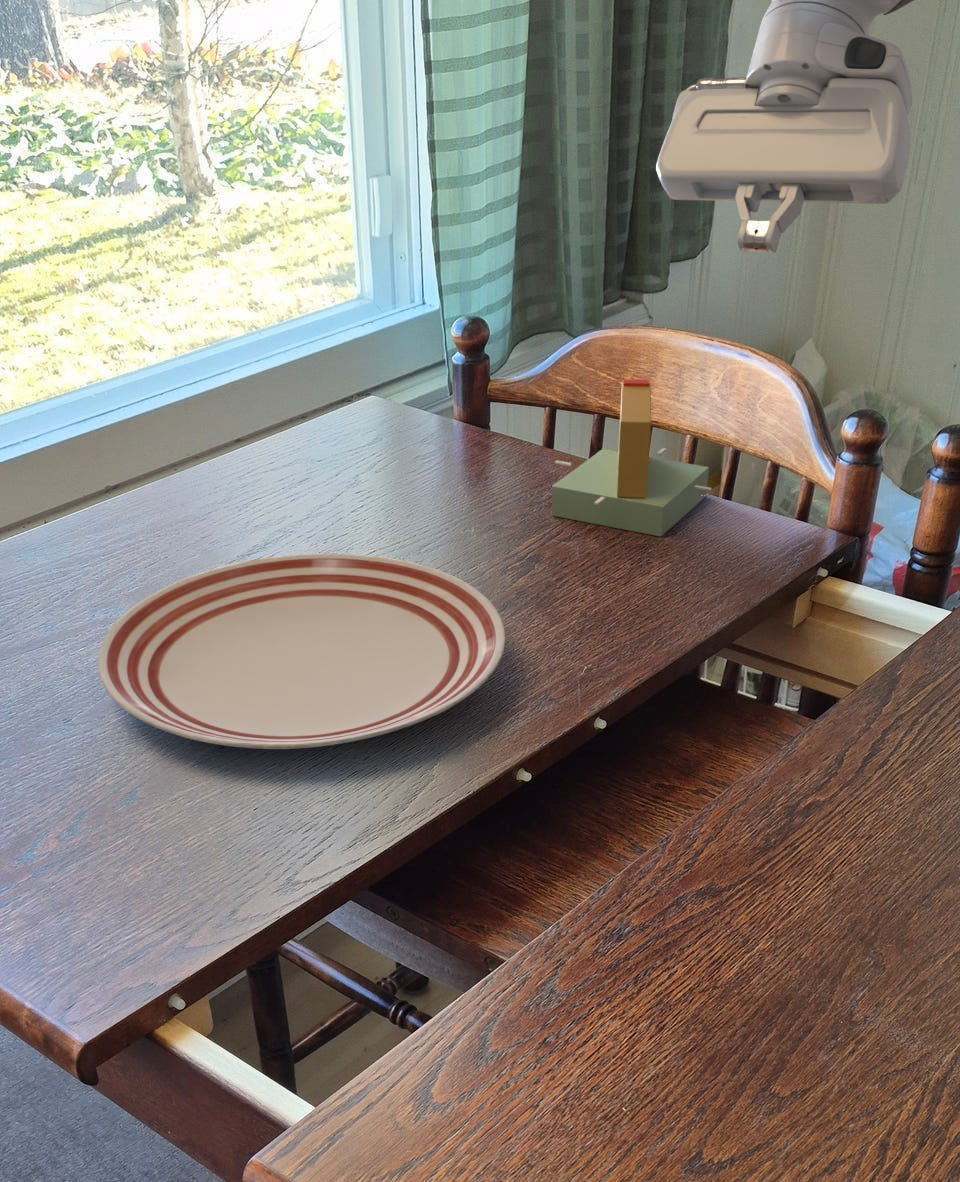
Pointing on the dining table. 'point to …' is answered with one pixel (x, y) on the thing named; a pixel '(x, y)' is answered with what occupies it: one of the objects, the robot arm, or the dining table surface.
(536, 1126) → the dining table surface
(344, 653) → the dinner plate
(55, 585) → the dining table surface
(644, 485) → the tan box
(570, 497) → the green base slab
